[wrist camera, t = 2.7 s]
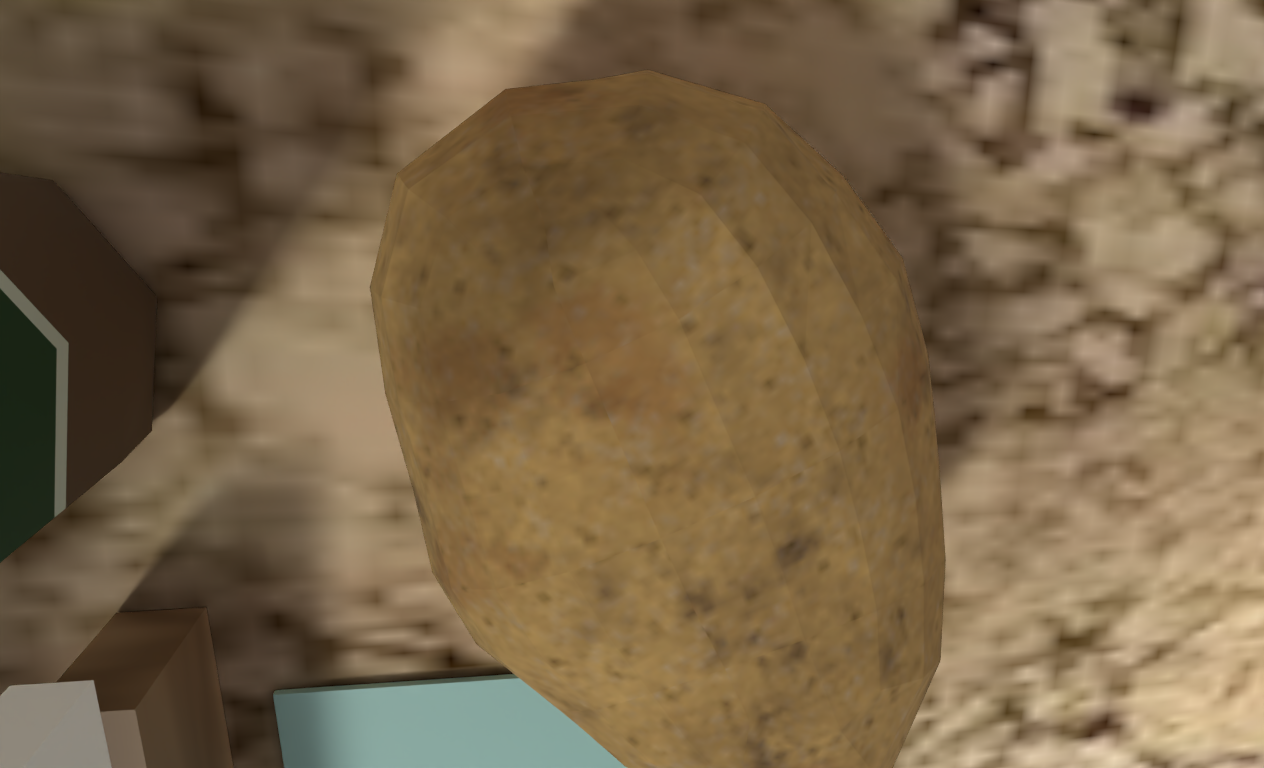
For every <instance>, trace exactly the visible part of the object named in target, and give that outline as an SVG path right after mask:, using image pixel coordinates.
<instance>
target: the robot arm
mask: <svg viewBox="0 0 1264 768" xmlns="http://www.w3.org/2000/svg"><path fill="white" fill-rule="evenodd" d="M0 768H112V767H111V762H110V757H109V752H108V747H107V743H106V738H105V733H104V728H103V724H102V719H101V714H100V709H99V704H98V700H97V695H96V690H95V685H94V680H89V681H74V682H59V683H43V684H28V685H13V686H9V687H8V688H7V689H6V690H5V691H4V692H3V693H2V694H1V695H0Z"/></svg>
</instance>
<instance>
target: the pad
mask: <svg viewBox="0 0 1264 768" xmlns="http://www.w3.org/2000/svg"><path fill="white" fill-rule="evenodd" d="M273 698H274V705H275V711H276V718H277V724H278V731H279V737H280V744H281V750H282V757H283V763H284V768H627V767H625V766H624V765H623V764H622V763H621V762H619V761H618V760H617V759H616V758H615V757H614V756H613V755H611V754H610V753H609V752H608V751H607V750H606V749H605V748H603V747H602V746H601V745H600V744H599V743H598V742H597V741H595V740H594V739H593V738H592V737H591V736H590V735H589V734H587V733H586V732H585V731H584V730H583V729H582V728H580V727H579V726H578V725H577V724H576V723H575V722H573V721H572V720H571V719H570V718H568V717H567V716H566V715H565V714H563V713H562V712H561V711H560V710H558V709H557V708H556V707H555V706H554V705H552V704H551V703H550V702H549V701H547V700H546V699H545V698H544V697H542V696H541V695H540V694H539V693H537V692H536V691H535V690H534V689H532V688H531V687H530V686H529V685H527V684H526V683H525V682H524V681H522V680H521V679H520V678H519V677H517V676H516V675H515V674H506V675H491V676H476V677H461V678H447V679H432V680H417V681H402V682H388V683H373V684H358V685H343V686H328V687H314V688H299V689H284V690H275V692H274V694H273Z"/></svg>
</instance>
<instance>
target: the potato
mask: <svg viewBox="0 0 1264 768" xmlns="http://www.w3.org/2000/svg"><path fill="white" fill-rule="evenodd" d="M370 290H371V297H372V304H373V311H374V318H375V325H376V332H377V339H378V346H379V353H380V360H381V367H382V373H383V380H384V387H385V394H386V397H387V401H388V404H389V408H390V411H391V415H392V418H393V421H394V425H395V428H396V432H397V435H398V439H399V442H400V446H401V449H402V452H403V456H404V459H405V463H406V466H407V470H408V473H409V477H410V480H411V484H412V487H413V491H414V495H415V499H416V503H417V508H418V512H419V516H420V521H421V525H422V529H423V534H424V538H425V542H426V546H427V551H428V555H429V559H430V564H431V568H432V572H433V574H434V576H435V577H436V579H437V581H438V582H439V584H440V586H441V587H442V589H443V590H444V592H445V594H446V595H447V597H448V599H449V600H450V602H451V603H452V605H453V607H454V608H455V610H456V612H457V613H458V615H459V616H460V618H461V620H462V621H463V623H464V625H465V626H466V628H467V629H468V631H469V633H470V634H471V636H472V638H473V639H474V641H475V642H476V644H477V645H478V646H480V647H481V648H482V649H483V650H485V651H486V652H487V653H488V654H490V655H491V656H492V657H493V658H495V659H496V660H497V661H498V662H500V663H501V664H502V665H503V666H505V667H506V668H507V669H509V670H510V671H511V672H512V673H514V674H515V675H516V676H517V677H519V678H520V679H521V680H522V681H524V682H525V683H526V684H527V685H529V686H530V687H531V688H532V689H534V690H535V691H536V692H537V693H539V694H540V695H541V696H542V697H544V698H545V699H546V700H547V701H549V702H550V703H551V704H552V705H554V706H555V707H556V708H557V709H558V710H560V711H561V712H562V713H563V714H565V715H566V716H567V717H568V718H570V719H571V720H572V721H573V722H575V723H576V724H577V725H578V726H579V727H580V728H582V729H583V730H584V731H585V732H586V733H587V734H589V735H590V736H591V737H592V738H593V739H594V740H595V741H597V742H598V743H599V744H600V745H601V746H602V747H603V748H605V749H606V750H607V751H608V752H609V753H610V754H611V755H613V756H614V757H615V758H616V759H617V760H618V761H619V762H621V763H622V764H623V765H624V766H625V767H627V768H893V766H894V763H895V761H896V759H897V757H898V754H899V752H900V750H901V748H902V745H903V743H904V741H905V739H906V736H907V734H908V732H909V730H910V728H911V725H912V723H913V721H914V719H915V716H916V714H917V712H918V710H919V707H920V705H921V703H922V701H923V698H924V696H925V694H926V692H927V689H928V687H929V685H930V683H931V680H932V678H933V676H934V674H935V671H936V669H937V667H938V665H939V662H940V658H941V639H942V619H943V600H944V581H945V561H946V559H945V545H944V530H943V515H942V500H941V485H940V470H939V458H938V446H937V435H936V423H935V414H934V404H933V395H932V386H931V376H930V367H929V357H928V352H927V348H926V345H925V341H924V337H923V333H922V330H921V326H920V322H919V318H918V315H917V311H916V307H915V303H914V300H913V296H912V292H911V288H910V285H909V281H908V277H907V273H906V269H905V266H904V262H903V258H902V257H901V255H900V254H899V253H898V251H897V250H896V248H895V247H894V246H893V244H892V243H891V242H890V240H889V239H888V237H887V236H886V235H885V233H884V232H883V231H882V229H881V228H880V226H879V225H878V224H877V222H876V221H875V220H874V218H873V217H872V215H871V214H870V213H869V211H868V210H867V209H866V207H865V206H864V204H863V203H862V202H861V200H860V199H859V197H858V196H857V195H856V193H855V192H854V191H853V189H852V188H851V186H850V185H849V184H848V182H847V181H846V180H845V178H844V177H843V176H842V175H841V174H840V173H839V172H838V171H837V170H836V169H835V168H834V167H832V166H831V165H830V164H829V163H828V162H827V161H826V160H825V159H824V158H823V157H822V156H821V155H819V154H818V153H817V152H816V151H815V150H814V149H813V148H812V147H811V146H810V145H809V144H808V143H806V142H805V141H804V140H803V139H802V138H801V137H800V136H799V135H798V134H797V133H796V132H795V131H793V130H792V129H791V128H790V127H789V126H788V125H787V124H786V123H785V122H784V121H783V120H782V119H780V118H779V117H778V116H777V115H776V114H775V113H774V112H773V111H772V110H771V109H770V108H769V107H767V106H766V105H765V104H763V103H760V102H756V101H753V100H750V99H746V98H743V97H739V96H736V95H732V94H729V93H726V92H722V91H719V90H715V89H712V88H709V87H705V86H702V85H698V84H695V83H691V82H688V81H685V80H681V79H678V78H674V77H671V76H668V75H664V74H661V73H657V72H654V71H650V70H644V71H638V72H633V73H628V74H622V75H617V76H611V77H606V78H600V79H593V80H584V81H575V82H566V83H557V84H547V85H538V86H529V87H520V88H511V89H505V90H504V91H502V92H501V93H500V94H499V95H497V96H496V97H495V98H493V99H492V100H491V101H490V102H488V103H487V104H486V105H484V106H483V107H482V108H481V109H479V110H478V111H477V112H475V113H474V114H473V115H472V116H470V117H469V118H468V119H466V120H465V121H464V122H463V123H461V124H460V125H459V126H458V127H456V128H455V129H454V130H452V131H451V132H450V133H449V134H447V135H446V136H445V137H443V138H442V139H441V140H440V141H438V142H437V143H436V144H434V145H433V146H432V147H431V148H429V149H428V150H427V151H425V152H424V153H423V154H422V155H420V156H419V157H418V158H416V159H415V160H414V161H413V162H411V163H410V164H409V165H407V166H406V167H405V168H404V169H402V170H401V171H400V172H398V173H397V175H396V179H395V183H394V188H393V192H392V196H391V200H390V205H389V209H388V213H387V217H386V222H385V226H384V230H383V234H382V239H381V243H380V247H379V251H378V255H377V260H376V264H375V268H374V272H373V277H372V281H371V285H370Z"/></svg>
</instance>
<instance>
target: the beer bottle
mask: <svg viewBox="0 0 1264 768" xmlns="http://www.w3.org/2000/svg"><path fill="white" fill-rule="evenodd" d="M156 315H157V296H156V295H155V294H154V293H153V292H152V291H151V290H150V289H149V287H148V286H147V285H146V284H145V283H144V282H143V281H142V280H141V278H140V277H139V276H138V275H137V274H136V273H135V272H134V271H133V269H132V268H131V267H130V266H129V265H128V264H127V263H126V262H125V260H124V259H123V258H122V257H121V256H120V255H119V254H118V253H117V251H116V250H115V249H114V248H113V247H112V246H111V245H110V244H109V242H108V241H107V240H106V239H105V238H104V237H103V236H102V235H101V233H100V232H99V231H98V230H97V229H96V228H95V227H94V226H93V224H92V223H91V222H90V221H89V220H88V219H87V218H86V217H85V215H84V214H83V213H82V212H81V211H80V210H79V209H78V208H77V206H76V205H75V204H74V203H73V202H72V201H71V200H70V199H69V197H68V196H67V195H66V194H65V193H64V192H63V191H62V190H61V188H60V187H59V186H58V185H57V184H56V183H55V182H54V181H52V180H46V179H39V178H33V177H26V176H19V175H13V174H6V173H0V562H2V561H3V560H4V559H5V558H6V557H8V556H9V555H10V554H11V553H12V552H14V551H15V550H16V549H17V548H18V547H20V546H21V545H22V544H23V543H25V542H26V541H27V540H28V539H29V538H31V537H32V536H33V535H34V534H35V533H37V532H38V531H39V530H40V529H41V528H43V527H44V526H45V525H46V524H47V523H49V522H50V521H51V520H52V519H53V518H55V517H56V516H57V515H58V514H59V513H61V512H62V511H63V510H64V509H65V508H67V507H68V506H69V505H70V504H71V503H73V502H74V501H75V500H76V499H77V498H79V497H80V496H81V495H82V494H83V493H85V492H86V491H87V490H88V489H90V488H91V487H92V486H93V485H94V484H96V483H97V482H98V481H99V480H100V479H102V478H103V477H104V476H105V475H106V474H108V473H109V472H110V471H111V470H112V469H114V468H115V467H116V466H117V465H118V464H120V463H121V462H122V461H123V460H124V459H125V458H126V457H127V456H128V455H129V454H130V453H131V452H132V451H133V450H134V449H135V447H136V446H137V445H138V444H139V443H140V442H141V441H142V440H143V439H144V438H145V437H146V436H147V435H148V434H149V433H150V432H151V431H152V415H153V390H154V365H155V340H156Z"/></svg>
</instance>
